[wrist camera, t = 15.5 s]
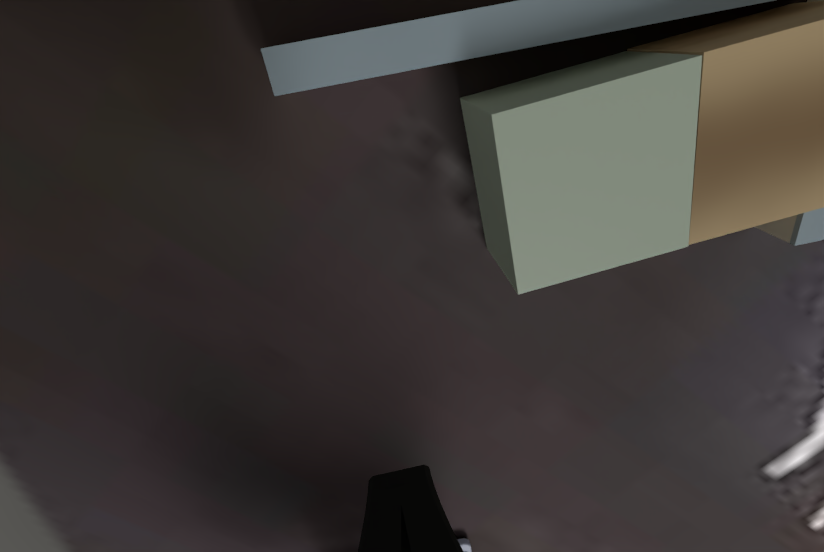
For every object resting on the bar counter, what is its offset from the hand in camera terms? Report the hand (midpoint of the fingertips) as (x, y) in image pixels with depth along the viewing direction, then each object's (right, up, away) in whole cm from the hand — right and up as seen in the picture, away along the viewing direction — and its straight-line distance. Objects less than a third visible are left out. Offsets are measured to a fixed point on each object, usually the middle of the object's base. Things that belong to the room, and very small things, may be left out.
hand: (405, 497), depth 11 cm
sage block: (+5, +10, +7) cm, 13 cm away
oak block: (+11, +12, +7) cm, 17 cm away
